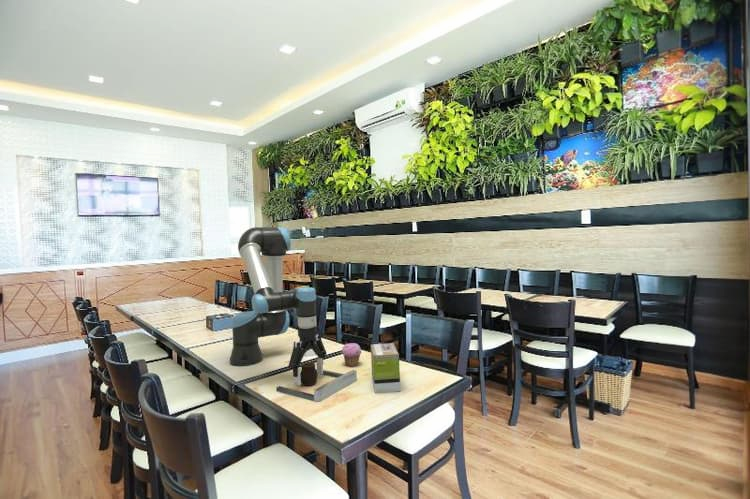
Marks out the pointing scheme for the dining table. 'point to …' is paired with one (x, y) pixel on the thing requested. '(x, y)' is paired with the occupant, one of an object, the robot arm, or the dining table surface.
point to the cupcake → (351, 353)
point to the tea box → (385, 368)
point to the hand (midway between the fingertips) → (309, 378)
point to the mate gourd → (308, 373)
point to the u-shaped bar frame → (324, 386)
